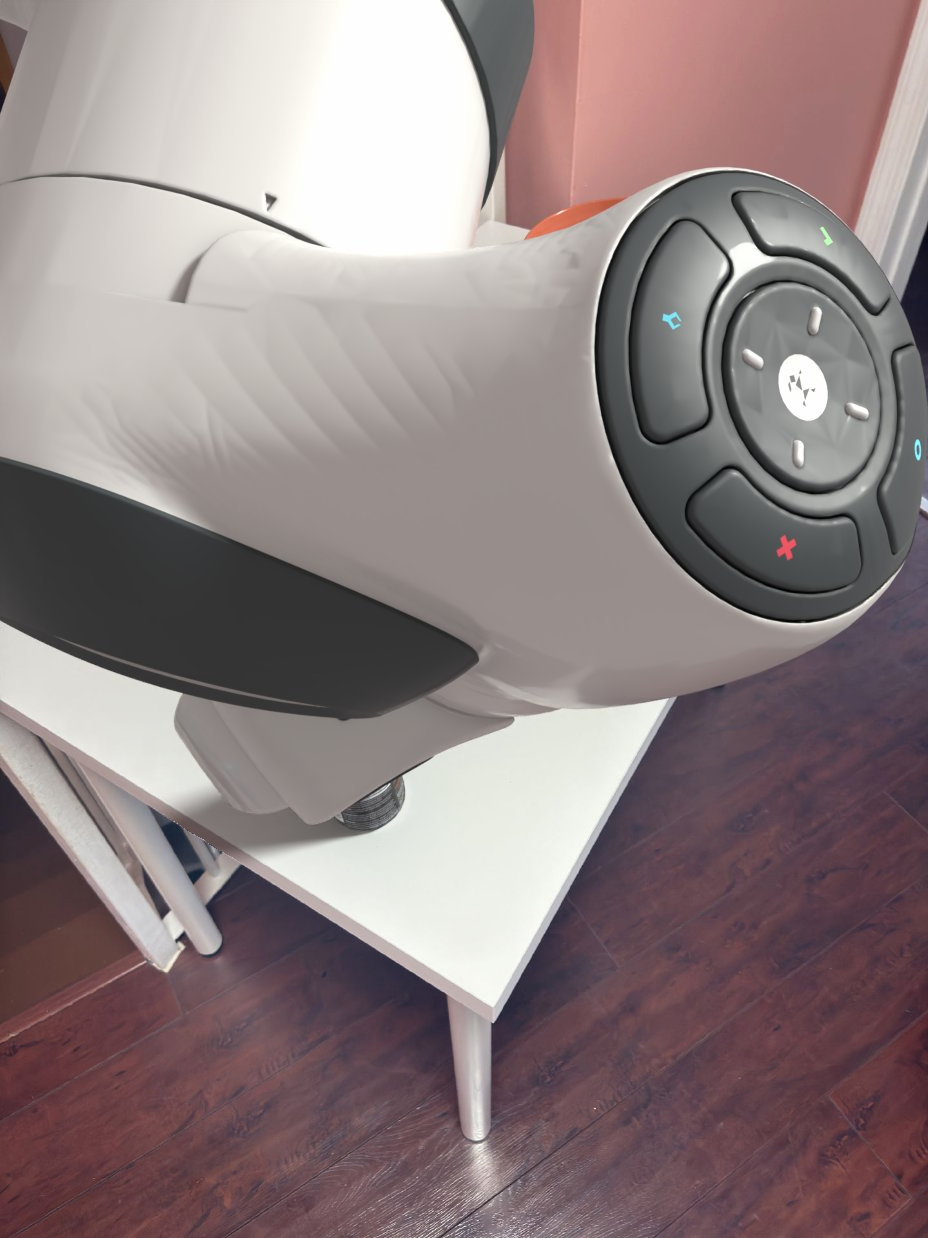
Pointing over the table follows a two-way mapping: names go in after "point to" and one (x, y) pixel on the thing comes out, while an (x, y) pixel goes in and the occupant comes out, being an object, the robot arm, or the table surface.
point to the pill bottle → (375, 808)
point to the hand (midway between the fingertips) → (389, 631)
